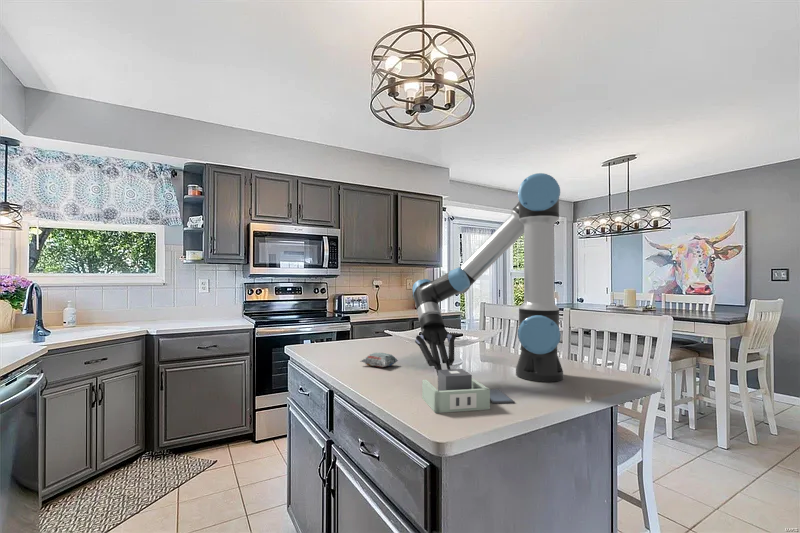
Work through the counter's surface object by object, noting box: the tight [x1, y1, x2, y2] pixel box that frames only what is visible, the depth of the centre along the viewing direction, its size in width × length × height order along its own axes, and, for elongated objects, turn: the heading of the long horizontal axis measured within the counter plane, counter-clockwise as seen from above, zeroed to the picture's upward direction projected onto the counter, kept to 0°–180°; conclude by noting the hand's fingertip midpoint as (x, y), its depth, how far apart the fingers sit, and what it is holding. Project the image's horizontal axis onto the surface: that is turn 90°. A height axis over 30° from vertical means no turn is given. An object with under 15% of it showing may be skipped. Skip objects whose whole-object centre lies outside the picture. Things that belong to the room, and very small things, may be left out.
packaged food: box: [359, 352, 399, 368], centre depth 146 cm, size 9×12×5 cm
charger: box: [437, 368, 473, 391], centre depth 104 cm, size 7×7×8 cm
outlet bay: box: [421, 377, 491, 414], centre depth 103 cm, size 14×12×5 cm
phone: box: [489, 388, 516, 405], centre depth 109 cm, size 6×12×1 cm, turn 6°
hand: (447, 386), depth 108 cm, fingers closed
